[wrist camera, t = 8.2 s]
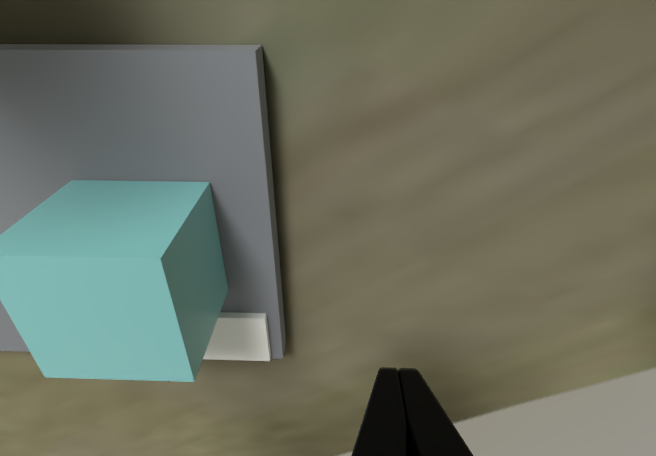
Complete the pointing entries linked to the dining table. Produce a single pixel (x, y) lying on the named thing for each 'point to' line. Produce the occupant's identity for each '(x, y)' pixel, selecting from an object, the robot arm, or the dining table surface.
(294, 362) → the dining table surface
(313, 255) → the dining table surface
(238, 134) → the grey flat board
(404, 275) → the dining table surface
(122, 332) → the teal cube
